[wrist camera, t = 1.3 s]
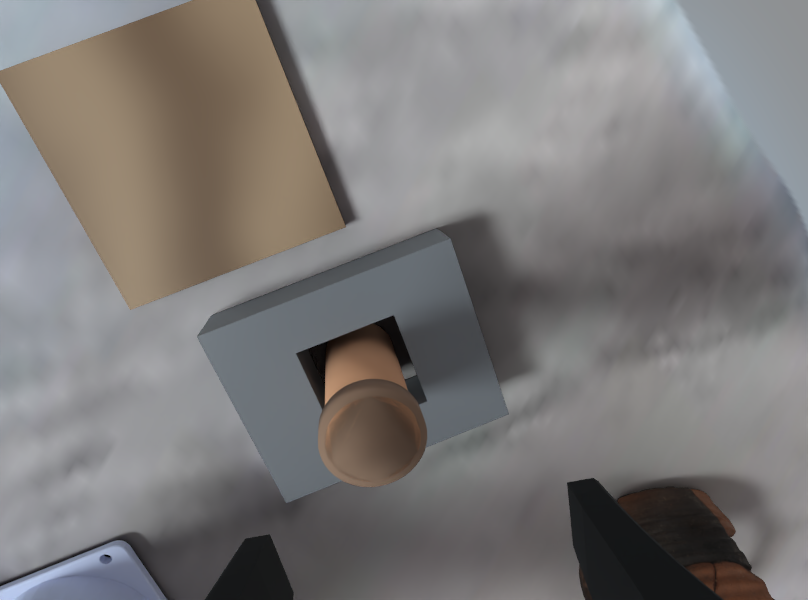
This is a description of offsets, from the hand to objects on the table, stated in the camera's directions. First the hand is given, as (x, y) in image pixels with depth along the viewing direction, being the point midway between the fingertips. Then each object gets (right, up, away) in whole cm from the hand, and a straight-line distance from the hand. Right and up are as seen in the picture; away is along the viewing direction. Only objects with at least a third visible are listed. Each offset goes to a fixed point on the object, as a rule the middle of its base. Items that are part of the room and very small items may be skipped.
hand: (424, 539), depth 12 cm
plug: (-2, +3, +10) cm, 11 cm away
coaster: (-9, +11, +7) cm, 16 cm away
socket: (-2, +3, +10) cm, 11 cm away
